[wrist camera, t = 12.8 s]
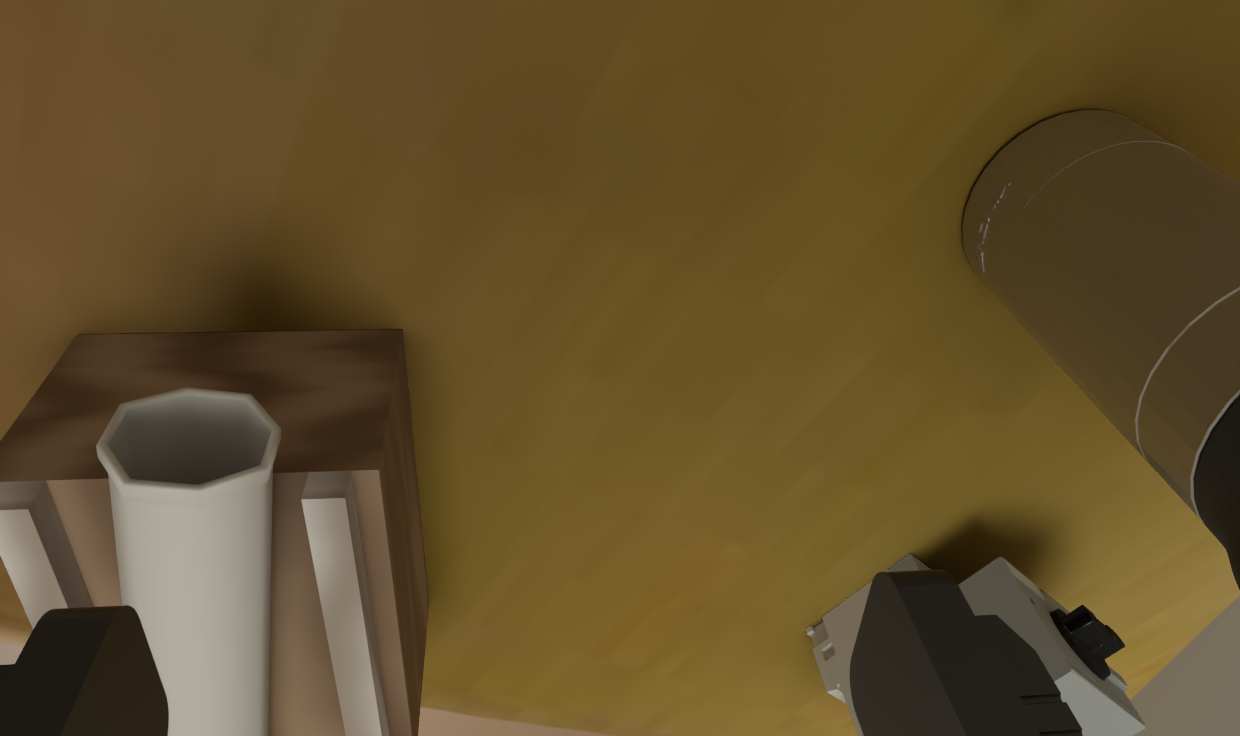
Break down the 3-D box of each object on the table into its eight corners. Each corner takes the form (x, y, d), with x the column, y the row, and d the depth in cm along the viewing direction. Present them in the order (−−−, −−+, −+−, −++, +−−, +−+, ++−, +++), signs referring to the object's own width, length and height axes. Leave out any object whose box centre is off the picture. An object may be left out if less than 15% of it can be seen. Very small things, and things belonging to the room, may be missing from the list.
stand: (402, 329, 42) (373, 496, 33) (428, 603, 52) (412, 793, 43) (77, 334, 41) (-51, 512, 31) (168, 615, 51) (91, 816, 41)
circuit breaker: (1063, 549, 56) (1225, 779, 43) (877, 676, 60) (975, 915, 48) (996, 490, 52) (1150, 720, 40) (805, 629, 57) (889, 873, 45)
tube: (279, 898, 42) (294, 479, 29) (147, 939, 40) (96, 502, 26) (263, 792, 46) (269, 380, 33) (142, 824, 43) (95, 392, 30)
